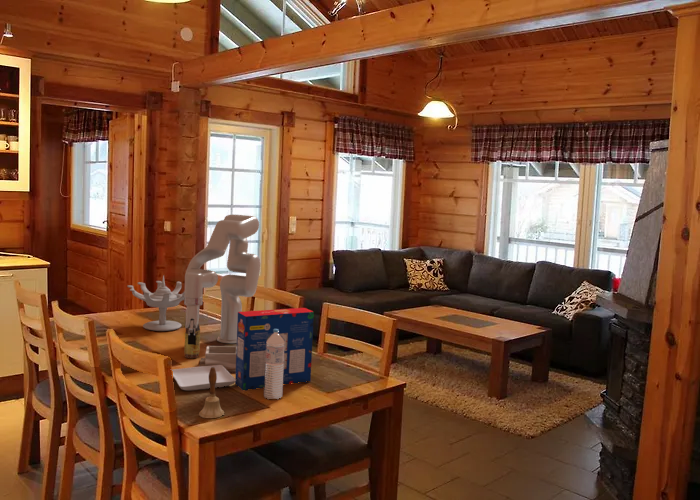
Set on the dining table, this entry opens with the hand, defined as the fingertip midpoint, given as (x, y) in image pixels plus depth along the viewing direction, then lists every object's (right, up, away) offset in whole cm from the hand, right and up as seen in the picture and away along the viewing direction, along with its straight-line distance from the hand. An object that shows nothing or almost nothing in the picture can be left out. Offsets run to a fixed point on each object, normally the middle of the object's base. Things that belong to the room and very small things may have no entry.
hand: (192, 341), depth 274 cm
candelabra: (-27, 0, +48) cm, 55 cm away
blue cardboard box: (+38, -12, -28) cm, 49 cm away
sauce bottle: (0, -7, +1) cm, 7 cm away
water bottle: (+40, -14, -43) cm, 61 cm away
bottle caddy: (+15, -9, -11) cm, 20 cm away
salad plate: (+11, -11, -31) cm, 35 cm away
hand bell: (+22, -15, -63) cm, 68 cm away
